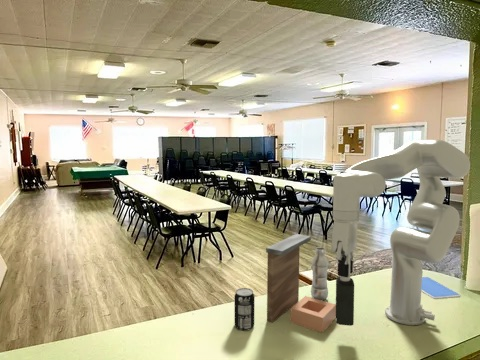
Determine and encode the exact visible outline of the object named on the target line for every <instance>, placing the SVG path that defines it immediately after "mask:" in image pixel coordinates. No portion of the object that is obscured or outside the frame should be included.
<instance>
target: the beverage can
mask: <svg viewBox="0 0 480 360" xmlns="http://www.w3.org/2000/svg"><path fill="white" fill-rule="evenodd" d="M234 326H235V327H236V328H237V329H238V330H239V331H250V330H251V329H252V328H253V327H254V326H255V294H254V291H253V289H252V288H249V287H248V288H246V287H241V288H238V289H236V291H235V294H234Z"/></svg>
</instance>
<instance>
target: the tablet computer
mask: <svg viewBox="0 0 480 360" xmlns="http://www.w3.org/2000/svg"><path fill="white" fill-rule="evenodd" d="M421 293H424V294H425V295H427V296H428V297H430V298H431V299H434V300H438V299H450V298H461V297H460V296H461V294H460V293H458V292H456V291H454V290H453V289H451V288H449V287H447V286H445V285H443V284H441V283H440V282H438V281H436V280H434V279H432V278H430V277H429V276H422V288H421Z"/></svg>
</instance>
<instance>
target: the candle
mask: <svg viewBox="0 0 480 360" xmlns="http://www.w3.org/2000/svg"><path fill="white" fill-rule="evenodd" d="M342 253H345V252H342ZM350 256H351V254H348V264H349V276H348V277H342V276H339V277H337V278H336V279H335V304H336V318H335V320H336V321H335V323H336V324H337V325H341V326H353V325H354V324H355V323H354V320H355V319H354V317H355V315H354V314H355V283H354V279H353V278H352V277H351V273H350ZM342 257H344V258H345V256H342Z"/></svg>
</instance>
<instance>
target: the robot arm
mask: <svg viewBox="0 0 480 360" xmlns="http://www.w3.org/2000/svg"><path fill="white" fill-rule="evenodd" d="M415 169H416V170H417V173H418V174H417V175H418V179H419V189H418V191H417V193H416V194H415V195H416V196H415V197H414V199H413V201H412V204H411V205H410V208H409V209H408V212H407V215H406V219H407V223H408V224H409V225H410V226H413V227H415V228H412V227H408V226H400V227H397V228H395V229H394V230H392V232H391V235H390V240H389V241H390V242H389V243H390V249H391V250H390V251H391V255H392V257H391V259H392V264H391V265H392V266H391V283H390V284H391V285H390V301H389V302H390V303H389V306H386V308H385V310H384V315H385V316H386V317H387V318H388V319H390V320H391V321H393V322H396V323H398V324H402V325H407V326H418V325H419V326H420V325H422V324H424V322H425V319H427V320H429V321H435V316H436V315H435V314H432V313H433V312H432V311H430V310H425V308H423V304H421V300H422V291H421V288H422V277H423V265H422V263H421V261H423V262H425V263H429V264H434V265H435V264H439V263H441V261H442V260H444V258H445V257H446V255H447V253H448V251H449V249H450V247H451V244H452V242H453V240H454V238H455V236H456V234H457V232H458V229H459V227H460V226H459V225H460V222H461V221H460V220H461V219H460V212H459V211H458V209H456V208H455V207H454V206H452V205H448V204H444V200H445V199H446V195H447V191H446V188H445V186H444V184H443V182H442V180H441V179H440V178H448V179H449V178H450V179H462V178H464V177H465V176H467V174H469V172H470V169H471V161H470V159H469V157H468V155H467V154H466V153H464V151H462V150H461V149H459V148H458V147H456V146H454V145H453V144H452V143H449V142H448V141H445V140H443V139H415V140H411V141H409V142H406V143H405V144H403V145H401V147H398V148H397V149H395V150H393V151H391V152H390V153H387V154H384V155H380V156H378V157H374V158H370V159H367V160H363V161H361V162H358V163H356V164H354V165H352V166H351V167H349V168H347V169H346V170H344V171H343V172H342V173H337V174H335V175H334V177H333V189H332V190H333V192H332V194H333V197H332V199H333V200H332V201H333V202H332V204H333V205H332V208H333V209H332V220H333V221H334V222H333V226H332V233H331V234H332V235H331V237H332V238H331V253H332V254H336V255H335V260H337V276H339V277H340V276H342V277H348V276H349V264H348V254H351V256H350V274H353V273H354V272H353V271H354V251H355V250H356V249H357V246H358V222H360V210H361V209H360V208H361V206H360V201H361V198H375V197H379V196H380V195H382V194H383V193H384V191H385V189H386V187H387V186H386V185H387V184H386V183H387V182H386V180H395V179H400V178H402V177H404V176H407V175H408V174H409V173H411V172H412V171H414V170H415ZM416 228H419V229H416ZM421 229H423V230H421ZM426 230H427V231H426ZM429 231H431V232H429ZM342 252H345V253H342ZM342 256H345V258H344V257H342Z"/></svg>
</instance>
